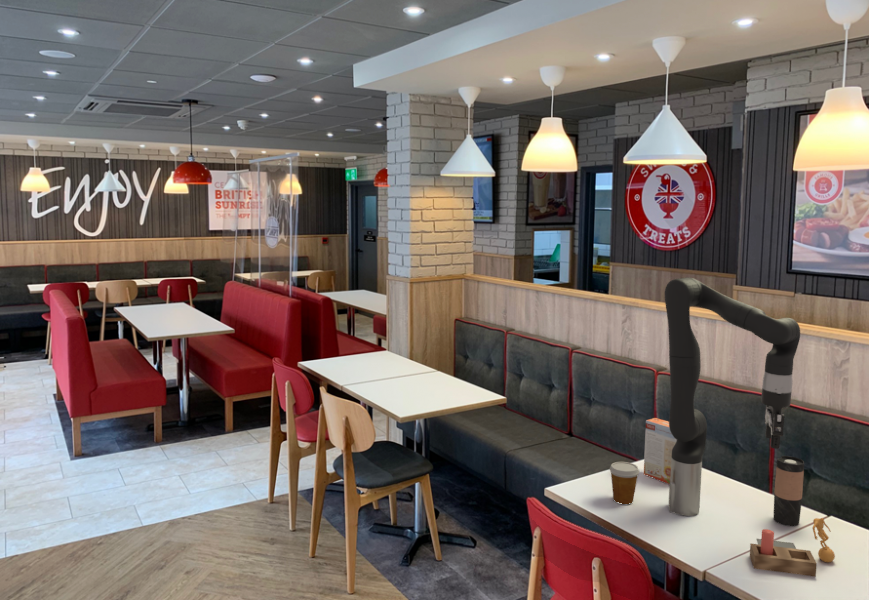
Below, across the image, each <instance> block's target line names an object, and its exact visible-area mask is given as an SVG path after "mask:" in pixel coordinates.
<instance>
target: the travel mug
mask: <svg viewBox="0 0 869 600" xmlns="http://www.w3.org/2000/svg"><path fill="white" fill-rule="evenodd" d="M804 473H805V461H804V460H803V459H801V458H798V457H795V456H790V455H782V456H781V457H779V458H778V457H777V458H776V469H775V480H774V481H775V482H774V493H773V495H774V496H773V521H774V522H775V523H778V524H779V525H781V526H782V525H783V526H787V527H797V526H799V525H800V521H801V520H800V519H801V512H802V511H801V510H802V500H803V488H804V487H803V486H804Z"/></svg>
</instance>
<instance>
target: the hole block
mask: <svg viewBox="0 0 869 600" xmlns="http://www.w3.org/2000/svg"><path fill="white" fill-rule="evenodd" d="M749 544H750V545H749V548H750V549H749V559H750V561H751V564H752V567H753V569H755V570H764V571H771V572H776V573H777V572H779V573H784V574H791V575H792V574H793V575H801V576H806V577H807V576H808V577H814V578H815V577H816V576H817V564H818V563H817V561H816V559H815V557H814V555H813V553H812V551H811V550H806V549H802V548H801V549H800V548H796V549H792V548H784V547H776V546H773V556H771V555H763V554H760V552H761V545H760V544H758V543H749Z"/></svg>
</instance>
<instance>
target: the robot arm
mask: <svg viewBox="0 0 869 600" xmlns="http://www.w3.org/2000/svg"><path fill="white" fill-rule="evenodd" d="M664 302H665V303H664V304H665V310H666V315H667V325H668V327H667V328H668V329H667V331H668V348H669V349H668V354H669V355H668V356H669V357H668V359H669V361H668V362H669V363H668V364H669V382H670V405H669V417H668V422H669V428H670V431H671V434H672V435H673V437H674V438H675V439H676V440H677V441H676V444H675V445H674V447H673V449H672V456H671V477H670V484H668V485H669V486H668V487H669V488H668V489H669V490H668V511H669V513H674V514H676V515H680V516H683V517H684V516H685V517H694V516H697V515H699V513H700V507H701V506H700V504H701V486H702V471H703V470H702V469H703V456H704V453H705V451H706V442H707V434H708V433H707V432H708V431H707V430H708V424H707V419H706V416H705V415H704V414H703V412H701V411H700V410H699V409H697V408H695V406H694V405H695V393H696V390H697V387H698V383H699V379H700V375H701V367H702V366H701V350H700V349H701V348H700V345H699V343H698V339H697V337H696V336H695V334H694V332H693V329H692V326H691V317H690V316H691V315H690V314H691V313H690V310H691V309H690V308H691V307H698V308H702V309H706V310H709V311H711V312H713V313H715V314H717V316H719V317H720V318H722V319H723V320H725V321H726V322H727V323H729V324H732V326H733V325H734V326H736V327H738V328H740V329H743V330H746V331H747V332H751V333H752V334H754V335H755V336H756V337H758V338H760V339H761V340H763V341H765V342H766V343H769V344H772V347H771V349H770V351H769V352H768V353H767V354H766V356H765V363H764V364H765V365H764V374H763V378H762V385H761V386H762V387H761V396H760V397H761V399H760V401H761V403H762V404H763V405H765V412H764V413H765V414H764V421H765V422H764V423H765V427H766V428H765V438H766V439H770V443H769V446H770V449H771V448H772V449H780V445H781V443H780V442H781V437H783V436H784V428H785V427H784V426H785V425H784V423H785V413H784V412H783V408H788V407H790V406H791V403H792V392H793V372H794V371H793V369H794V359H795V356H796V353H797V350H798V346H799V342H800V340H801V339H800V338H801V328H800V325H799V323H798V322H797V321H796V320H795V319H793V318H792V317H791V318H790V317H781V318H773V317H771V316H769V315H767V314H766V312H765V311H764V310H762V309H760V308H757V307H756V306H753V305H750V304H747V303H745V302H742V301H740V300H738V299H734V298H732V297H729V296H728V295H725V294H723V293H721V292H719V291H717V290H715V289H713V288H711V287H710V286H708V285H707V284H704V283H703V282H702V281H700V280H698V279H697V278H693V277H681V278H674V279H672V280H670V281H669V282H667V283H666V286H665V289H664ZM776 429H778V431H777V430H776Z"/></svg>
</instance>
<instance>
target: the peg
mask: <svg viewBox="0 0 869 600" xmlns="http://www.w3.org/2000/svg"><path fill="white" fill-rule="evenodd" d="M774 538H775V532H774V531H773V530H771V529H767V528H766V529H765V528H764V529H762V530H761V538H760V539H761V552H760V554H763V555H771V556H773V542H774V541H775V539H774Z"/></svg>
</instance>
